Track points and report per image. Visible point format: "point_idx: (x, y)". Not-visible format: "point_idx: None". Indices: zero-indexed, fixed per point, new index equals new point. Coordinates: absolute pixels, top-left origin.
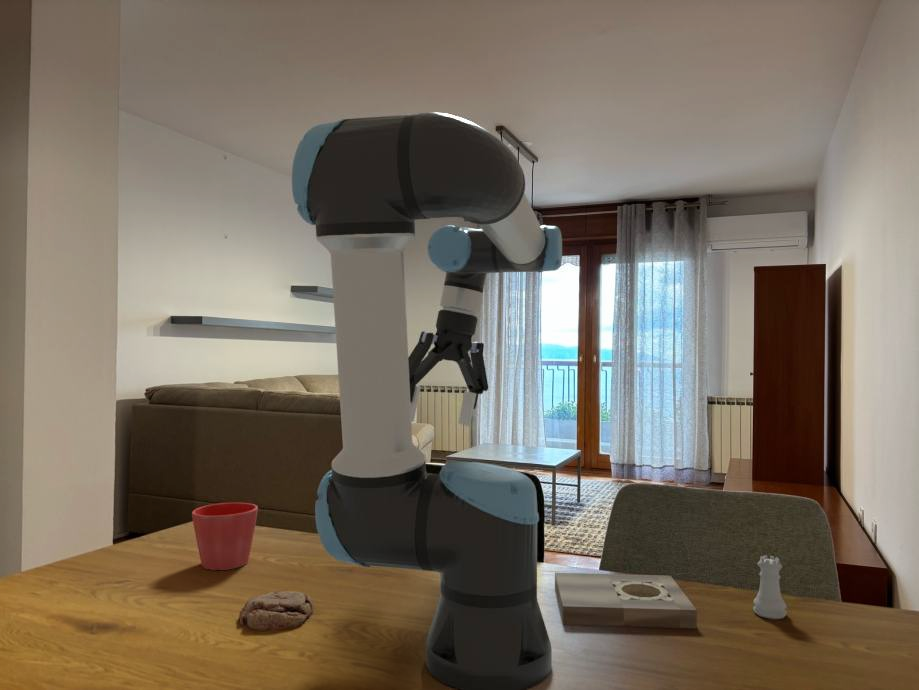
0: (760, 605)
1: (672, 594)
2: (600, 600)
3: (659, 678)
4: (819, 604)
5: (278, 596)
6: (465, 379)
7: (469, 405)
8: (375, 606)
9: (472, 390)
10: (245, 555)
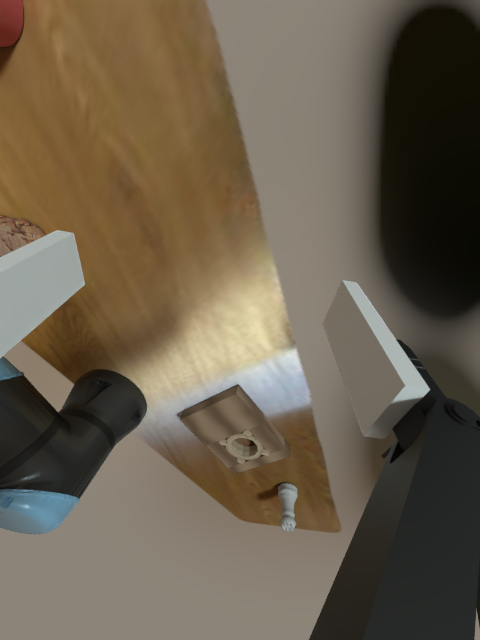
0: (279, 491)
1: (250, 461)
2: (206, 433)
3: (167, 457)
4: (324, 505)
5: (11, 244)
6: (405, 476)
7: (347, 372)
8: (100, 295)
9: (407, 429)
10: (2, 38)
